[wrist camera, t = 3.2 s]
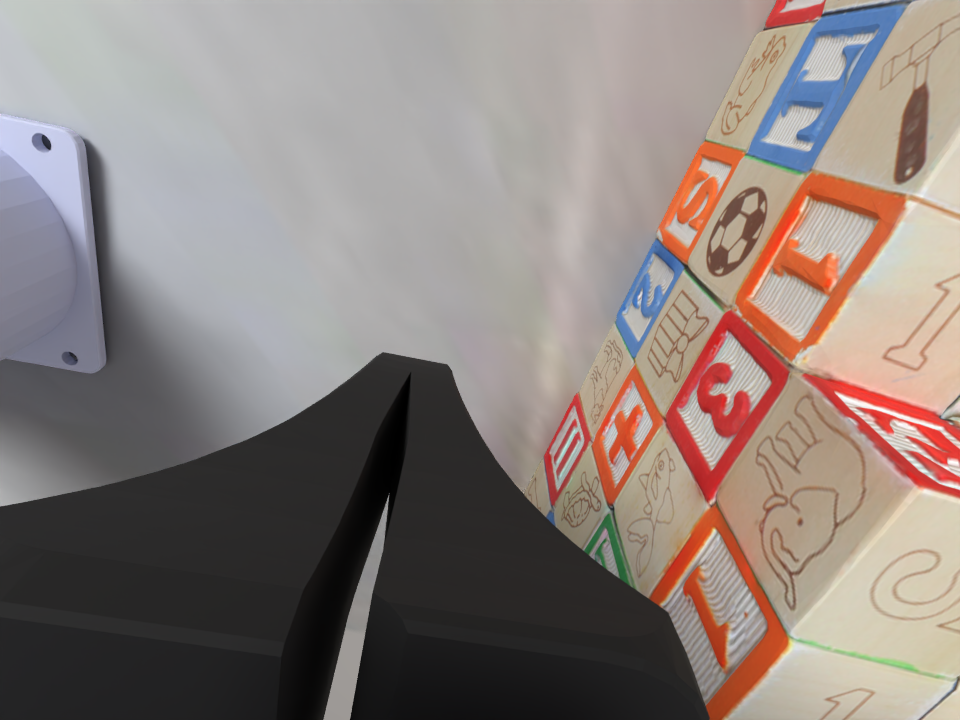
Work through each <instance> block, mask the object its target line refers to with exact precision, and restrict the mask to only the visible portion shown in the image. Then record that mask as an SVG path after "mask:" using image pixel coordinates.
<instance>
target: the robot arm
mask: <svg viewBox="0 0 960 720" xmlns="http://www.w3.org/2000/svg"><path fill="white" fill-rule="evenodd" d="M42 135H45V136H46V137H47V138H48V139H49V140H50V142H51V150H48V149H47V148H46V147H45V146H44V145H43V142H42ZM69 352H71V353H73V354H74V355H75V356H76V357H77V359H78V360H76V359H74V358H73V357H72V356H71V355H70V353H69ZM3 359H10V360H15V361H21V362H27V363H32V364H38V365H43V366H49V367H55V368H60V369H66V370H71V371H77V372H83V373H95V372H98V371H99V370H100V369H102V368H103V367H104V366H105V364H106V350H105V340H104V329H103V319H102V309H101V298H100V288H99V278H98V268H97V257H96V247H95V237H94V226H93V216H92V206H91V196H90V185H89V175H88V165H87V154H86V148H85V144H84V142H83V140H82V139H81V137H80V136H79V135H78V134H77V133H76V132H74V131H73V130H71V129H68V128H66V127H61V126H57V125H52V124H47V123H43V122H38V121H33V120H29V119H24V118H20V117H15V116H10V115H6V114H1V113H0V361H1V360H3ZM389 493H390V494H389ZM388 496H389V503H388V513H387V522H386V531H385V541H384V549H383V553H382V557H381V561H380V565H379V570H378V574H377V578H376V582H375V586H374V590H373V594H372V600H371V605H370V611H369V616H368V622H367V628H366V633H365V639H364V645H363V650H362V656H361V661H360V667H359V673H358V678H357V684H356V690H355V695H354V701H353V706H352V712H351V718H350V720H710V717H709V714H708V711H707V708H706V705H705V703H704V700H703V697H702V694H701V691H700V688H699V686H698V683H697V680H696V677H695V674H694V671H693V669H692V666H691V663H690V661H689V658H688V655H687V653H686V651H685V648H684V646H683V644H682V642H681V640H680V638H679V635H678V633H677V631H676V629H675V627H674V624H673V622H672V620H671V617H670V615H669V613H668V612H667V611H666V610H664V609H663V608H661V607H660V606H659V605H657V604H656V603H654V602H653V601H651V600H650V599H648V598H647V597H646V596H644V595H643V594H641V593H640V592H638V591H637V590H636V589H634V588H633V587H631V586H630V585H628V584H627V583H625V582H624V581H623V580H621V579H620V578H618V577H617V576H615V575H614V574H613V573H611V572H610V571H608V570H607V569H606V568H604V567H603V566H602V565H600V564H599V563H598V562H597V561H595V560H594V559H593V558H592V557H591V556H589V555H588V554H587V553H586V552H584V551H583V550H582V549H581V548H580V547H578V546H577V545H576V544H575V543H574V542H572V541H571V540H570V539H569V538H568V537H567V536H566V535H564V534H563V533H562V532H561V531H560V530H559V529H558V528H557V527H556V526H554V525H553V524H552V523H551V522H550V521H549V520H548V519H547V518H546V517H545V516H544V515H543V514H542V513H541V512H540V511H539V510H538V509H537V508H536V507H535V506H534V505H533V504H532V503H531V502H530V501H529V500H528V499H527V497H526V496H525V495H524V494H523V493H522V492H521V491H520V490H519V489H518V487H517V486H516V485H515V484H514V483H513V481H512V480H511V479H510V478H509V476H508V475H507V474H506V473H505V471H504V470H503V469H502V468H501V466H500V465H499V463H498V462H497V461H496V459H495V458H494V456H493V455H492V453H491V452H490V450H489V448H488V447H487V445H486V444H485V442H484V440H483V439H482V437H481V435H480V434H479V432H478V430H477V428H476V426H475V425H474V423H473V421H472V419H471V417H470V415H469V413H468V411H467V409H466V407H465V405H464V403H463V400H462V398H461V396H460V393H459V391H458V388H457V386H456V383H455V380H454V377H453V373H452V370H451V369H450V367H449V366H448V365H447V364H442V363H436V362H431V361H426V360H421V359H416V358H410V357H405V356H400V355H395V354H389V353H384V352H383V353H381V354H379V355H378V356H376V357H375V358H374V359H373V360H372V361H371V362H369V363H368V364H367V365H366V366H365V367H364V368H362V369H361V370H360V371H359V372H357V373H356V374H355V375H354V376H352V377H351V378H350V379H349V380H347V381H346V382H345V383H343V384H342V385H340V386H339V387H338V388H336V389H335V390H334V391H332V392H331V393H330V394H328V395H327V396H325V397H324V398H322V399H321V400H319V401H318V402H316V403H315V404H313V405H311V406H310V407H308V408H307V409H305V410H304V411H302V412H300V413H299V414H297V415H296V416H294V417H292V418H290V419H289V420H287V421H285V422H283V423H281V424H279V425H277V426H275V427H273V428H271V429H269V430H267V431H265V432H263V433H261V434H259V435H257V436H254V437H252V438H250V439H248V440H245V441H243V442H240V443H238V444H235V445H232V446H230V447H227V448H224V449H222V450H219V451H217V452H214V453H211V454H209V455H206V456H203V457H201V458H198V459H196V460H193V461H190V462H187V463H184V464H180V465H177V466H174V467H171V468H167V469H164V470H161V471H158V472H154V473H151V474H147V475H143V476H140V477H136V478H132V479H129V480H125V481H121V482H117V483H113V484H109V485H105V486H101V487H96V488H91V489H87V490H82V491H77V492H72V493H67V494H62V495H58V496H53V497H48V498H43V499H38V500H33V501H28V502H24V503H18V504H12V505H7V506H1V507H0V720H323V719H324V714H325V710H326V706H327V702H328V697H329V693H330V689H331V685H332V681H333V677H334V672H335V668H336V664H337V660H338V656H339V652H340V648H341V643H342V639H343V635H344V631H345V627H346V623H347V619H348V615H349V612H350V608H351V605H352V602H353V598H354V595H355V592H356V589H357V586H358V583H359V580H360V577H361V574H362V571H363V568H364V566H365V563H366V560H367V557H368V554H369V551H370V548H371V545H372V542H373V539H374V536H375V534H376V531H377V528H378V525H379V522H380V519H381V516H382V513H383V510H384V507H385V504H386V501H387V498H388Z"/></svg>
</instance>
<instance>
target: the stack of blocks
mask: <svg viewBox="0 0 960 720" xmlns="http://www.w3.org/2000/svg"><path fill="white" fill-rule="evenodd" d="M524 495H525V496H526V497H527V499H528V500H529V501H530V502H531V503H532V504H533V505H534V506H535V507H536V508H537V509H538V510H539V511H540V512H541V513H542V514H543V515H544V516H545V517H546V518H547V519H548V520H549V521H550V522H551V523H552V524H553V525H554V526H556V527H557V528H558V529H559V530H560V531H561V532H562V533H563V534H564V535H566V536H567V537H568V538H569V539H570V540H571V541H572V542H574V543H575V544H576V545H577V546H578V547H580V548H581V549H582V550H583V551H584V552H586V553H587V554H588V555H589V556H591V557H592V558H593V559H594V560H595V561H597V562H598V563H599V564H600V565H602V566H603V567H604V568H606V569H607V570H608V571H610V572H611V573H613V574H614V575H615V576H617V577H618V578H620V579H621V580H623V581H624V582H625V583H627V584H628V585H630V586H631V587H633V588H634V589H636V590H637V591H638V592H640V593H641V594H643V595H644V596H646V597H647V598H648V599H650V600H651V601H653V602H654V603H656V604H657V605H659V606H660V607H661V608H663V609H664V610H666V611H667V612H668V613H669V615H670V617H671V620H672V622H673V624H674V627H675V629H676V631H677V633H678V635H679V638H680V640H681V642H682V644H683V646H684V648H685V651H686V653H687V655H688V658H689V661H690V663H691V666H692V669H693V671H694V674H695V677H696V680H697V683H698V686H699V688H700V691H701V694H702V697H703V700H704V703H705V705H706V708H707V711H708V714H709V717H710V720H960V0H777V1H776V4H775V6H774V8H773V10H772V12H771V13H770V15H769V17H768V19H767V20H766V25H765V29H764V30H763V31H762V32H760V33H758V34H757V35H756V36H755V38H754V40H753V42H752V44H751V46H750V48H749V50H748V52H747V54H746V56H745V58H744V60H743V62H742V64H741V66H740V68H739V70H738V72H737V74H736V76H735V78H734V80H733V82H732V84H731V86H730V88H729V90H728V92H727V94H726V96H725V98H724V100H723V102H722V104H721V106H720V108H719V110H718V112H717V114H716V116H715V118H714V120H713V122H712V124H711V126H710V128H709V130H708V132H707V136H706V139H705V141H704V142H703V144H702V145H701V146H700V148H699V150H698V151H697V153H696V155H695V157H694V159H693V161H692V163H691V165H690V167H689V169H688V171H687V173H686V175H685V177H684V179H683V181H682V182H681V184H680V186H679V188H678V190H677V192H676V194H675V196H674V198H673V200H672V202H671V204H670V206H669V208H668V210H667V212H666V214H665V216H664V218H663V220H662V222H661V224H660V226H659V228H658V230H657V238H656V240H655V242H654V243H653V245H652V247H651V249H650V251H649V252H648V254H647V257H646V259H645V261H644V263H643V265H642V267H641V269H640V271H639V273H638V275H637V277H636V278H635V280H634V282H633V285H632V287H631V289H630V291H629V292H628V294H627V296H626V298H625V300H624V302H623V304H622V306H621V308H620V310H619V312H618V314H617V317H616V322H615V323H614V324H613V326H612V328H611V329H610V331H609V333H608V335H607V337H606V339H605V341H604V343H603V345H602V347H601V349H600V351H599V353H598V355H597V357H596V359H595V361H594V363H593V365H592V367H591V369H590V371H589V373H588V375H587V377H586V379H585V381H584V383H583V385H582V387H581V390H580V391H579V393H577V394H576V395H575V396H574V399H573V401H572V403H571V404H570V406H569V408H568V410H567V412H566V414H565V416H564V418H563V420H562V422H561V424H560V426H559V428H558V430H557V432H556V434H555V436H554V438H553V440H552V442H551V444H550V446H549V448H548V450H547V452H546V454H545V456H544V458H543V459H542V461H541V462H540V464H539V466H538V468H537V470H536V472H535V474H534V476H533V478H532V480H531V482H530V484H529V486H528V487H527V489H526V491H525V493H524Z"/></svg>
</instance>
